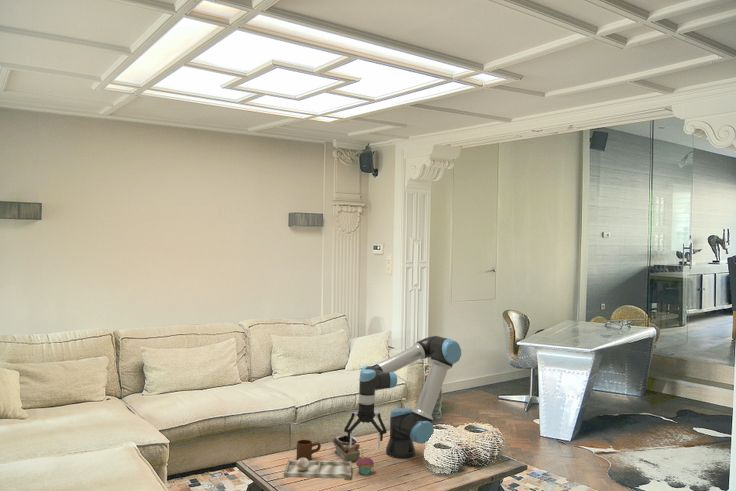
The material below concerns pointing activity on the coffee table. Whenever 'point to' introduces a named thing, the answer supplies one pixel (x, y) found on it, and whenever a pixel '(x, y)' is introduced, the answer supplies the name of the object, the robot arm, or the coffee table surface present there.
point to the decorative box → (346, 448)
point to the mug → (306, 449)
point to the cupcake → (364, 464)
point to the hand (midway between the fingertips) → (364, 447)
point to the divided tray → (320, 469)
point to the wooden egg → (302, 464)
